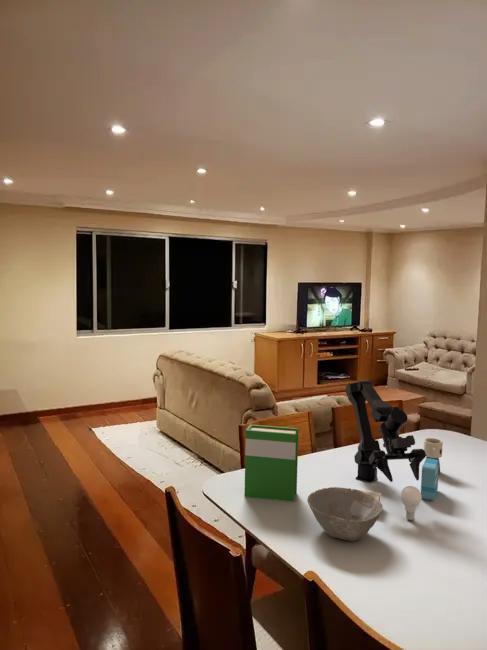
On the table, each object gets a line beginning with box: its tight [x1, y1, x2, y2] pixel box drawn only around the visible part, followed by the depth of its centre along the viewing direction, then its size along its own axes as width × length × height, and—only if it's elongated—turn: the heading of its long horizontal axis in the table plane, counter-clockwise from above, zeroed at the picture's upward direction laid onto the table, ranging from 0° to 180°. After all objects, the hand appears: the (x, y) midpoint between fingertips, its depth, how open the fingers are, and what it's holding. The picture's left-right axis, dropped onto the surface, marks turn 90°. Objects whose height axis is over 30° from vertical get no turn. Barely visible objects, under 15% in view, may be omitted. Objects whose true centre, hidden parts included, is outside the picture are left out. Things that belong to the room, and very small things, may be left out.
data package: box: [420, 457, 440, 502], centre depth 186 cm, size 12×4×12 cm, turn 153°
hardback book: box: [243, 424, 299, 503], centre depth 183 cm, size 18×7×24 cm, turn 77°
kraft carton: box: [359, 489, 381, 503], centre depth 173 cm, size 7×7×5 cm
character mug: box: [423, 437, 444, 474], centre depth 208 cm, size 11×7×13 cm, turn 165°
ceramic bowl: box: [307, 486, 384, 542], centre depth 156 cm, size 22×23×10 cm
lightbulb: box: [400, 485, 423, 521], centre depth 166 cm, size 6×6×11 cm
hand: (404, 480), depth 170 cm, fingers open, 9 cm apart
